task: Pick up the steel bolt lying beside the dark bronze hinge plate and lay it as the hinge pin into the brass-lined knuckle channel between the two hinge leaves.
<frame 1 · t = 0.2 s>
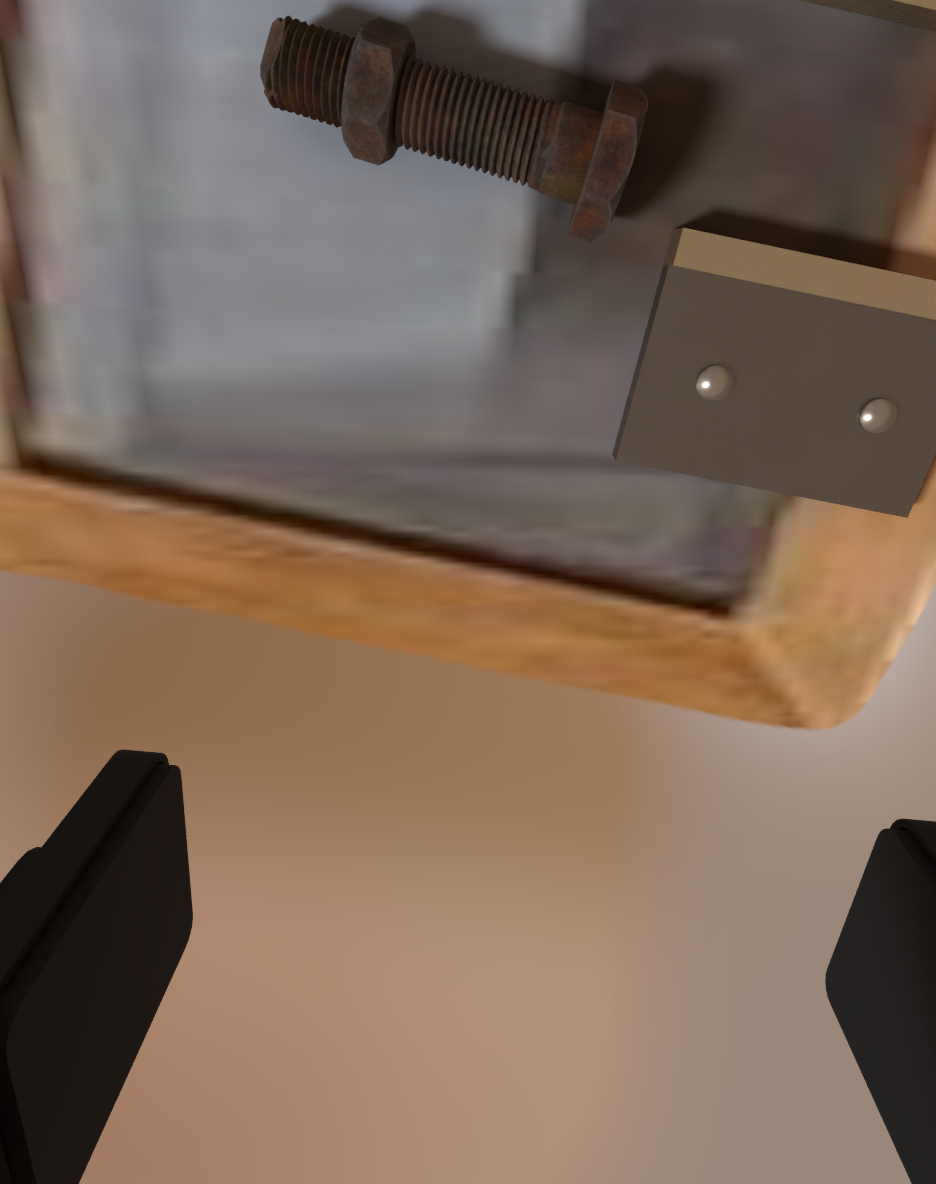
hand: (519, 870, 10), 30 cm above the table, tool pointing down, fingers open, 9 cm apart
hinge plate: (872, 151, 33), on the table
bolt: (454, 122, 33), on the table
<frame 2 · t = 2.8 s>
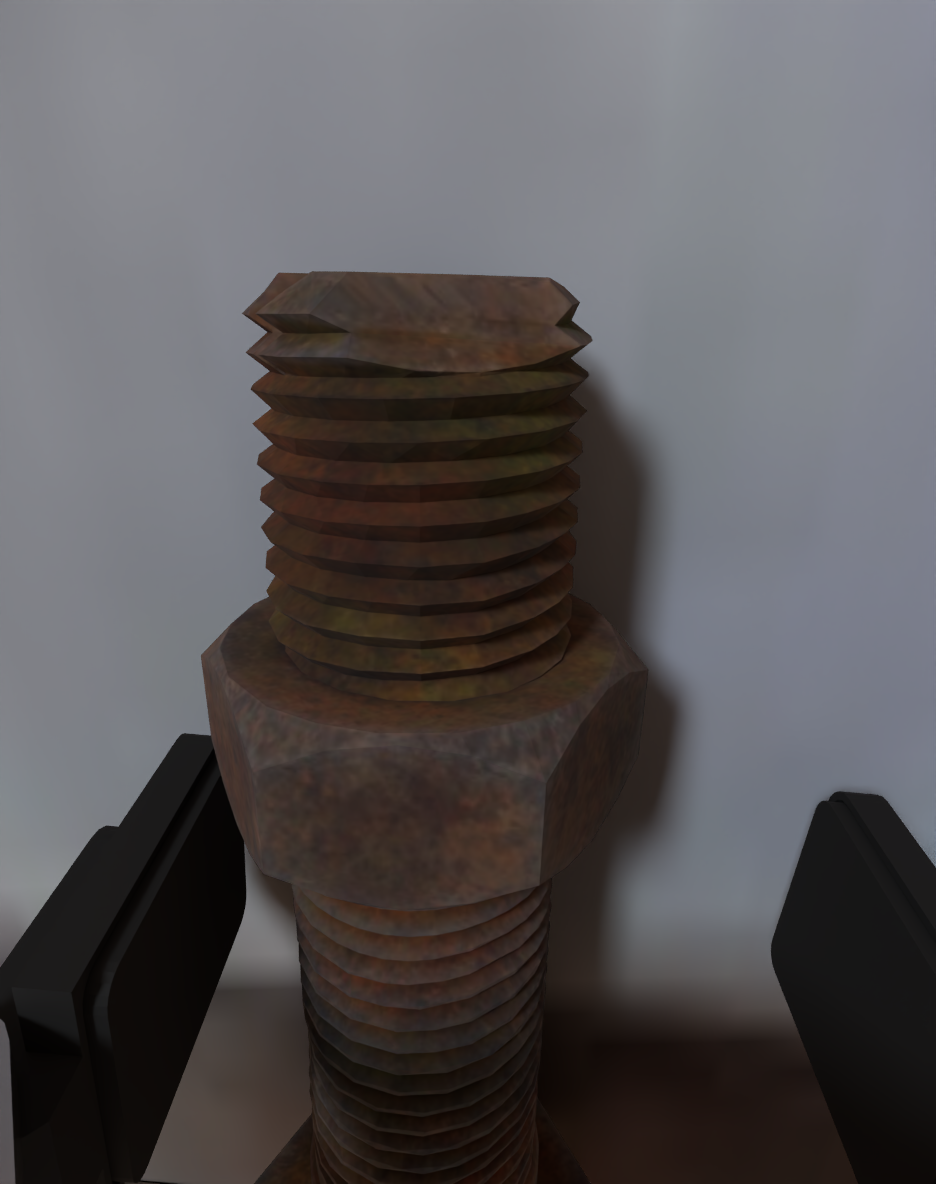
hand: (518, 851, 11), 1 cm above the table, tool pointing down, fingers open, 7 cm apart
bolt: (446, 788, 12), on the table, touching gripper
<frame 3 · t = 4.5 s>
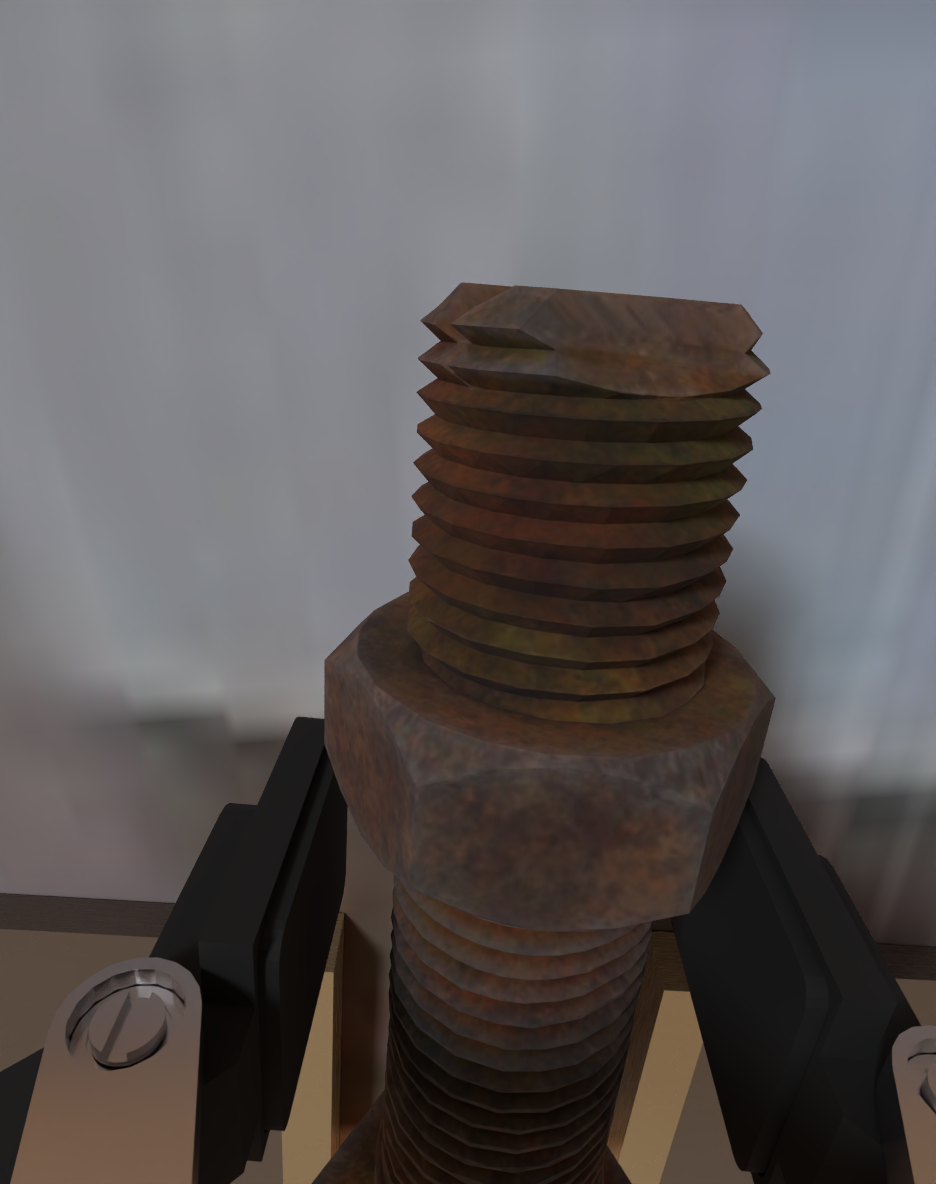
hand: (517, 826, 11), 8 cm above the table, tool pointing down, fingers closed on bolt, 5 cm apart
hinge plate: (475, 1086, 25), on the table
bolt: (522, 800, 12), point 7 cm above the table, touching gripper
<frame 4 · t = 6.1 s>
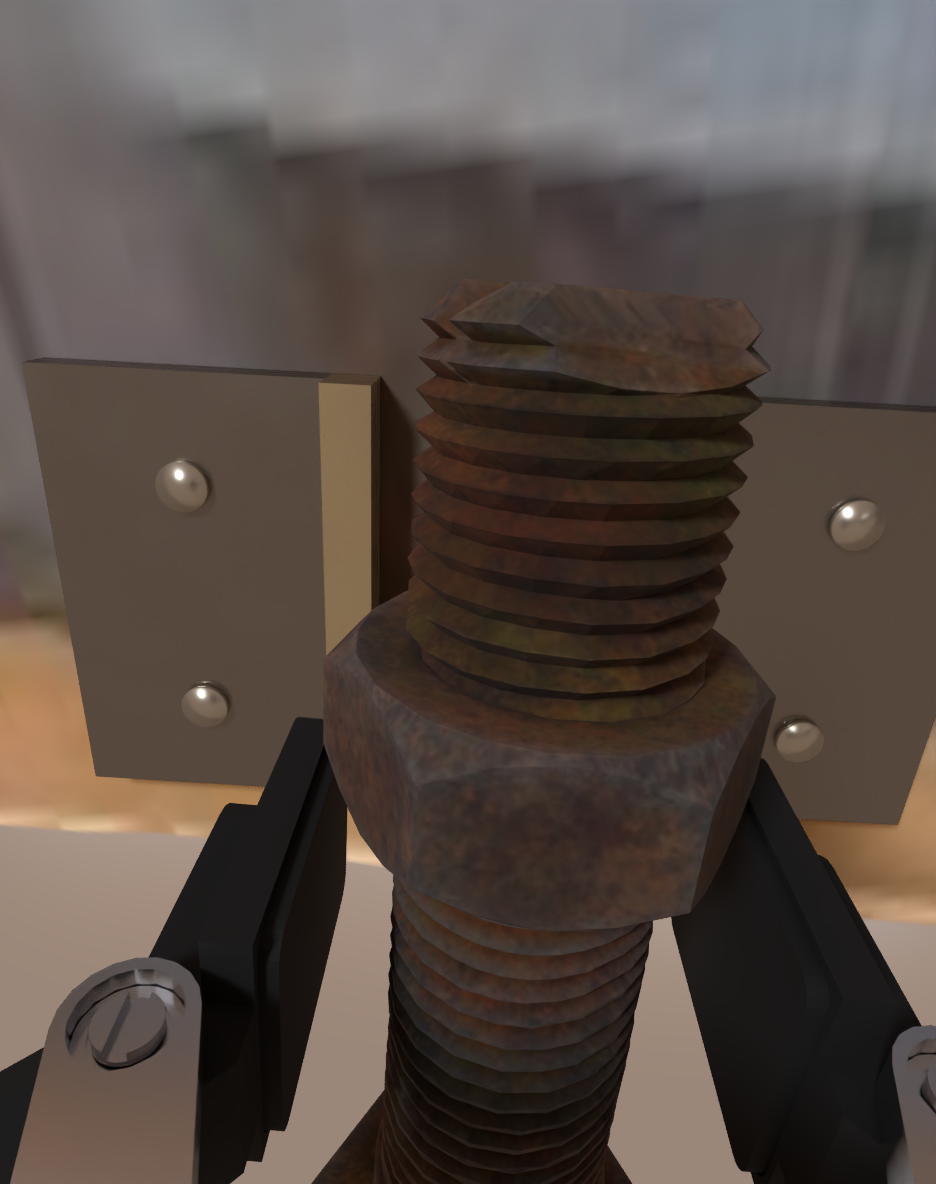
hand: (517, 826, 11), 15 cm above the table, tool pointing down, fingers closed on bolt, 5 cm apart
hinge plate: (508, 604, 26), on the table
bolt: (522, 799, 12), point 14 cm above the table, touching gripper
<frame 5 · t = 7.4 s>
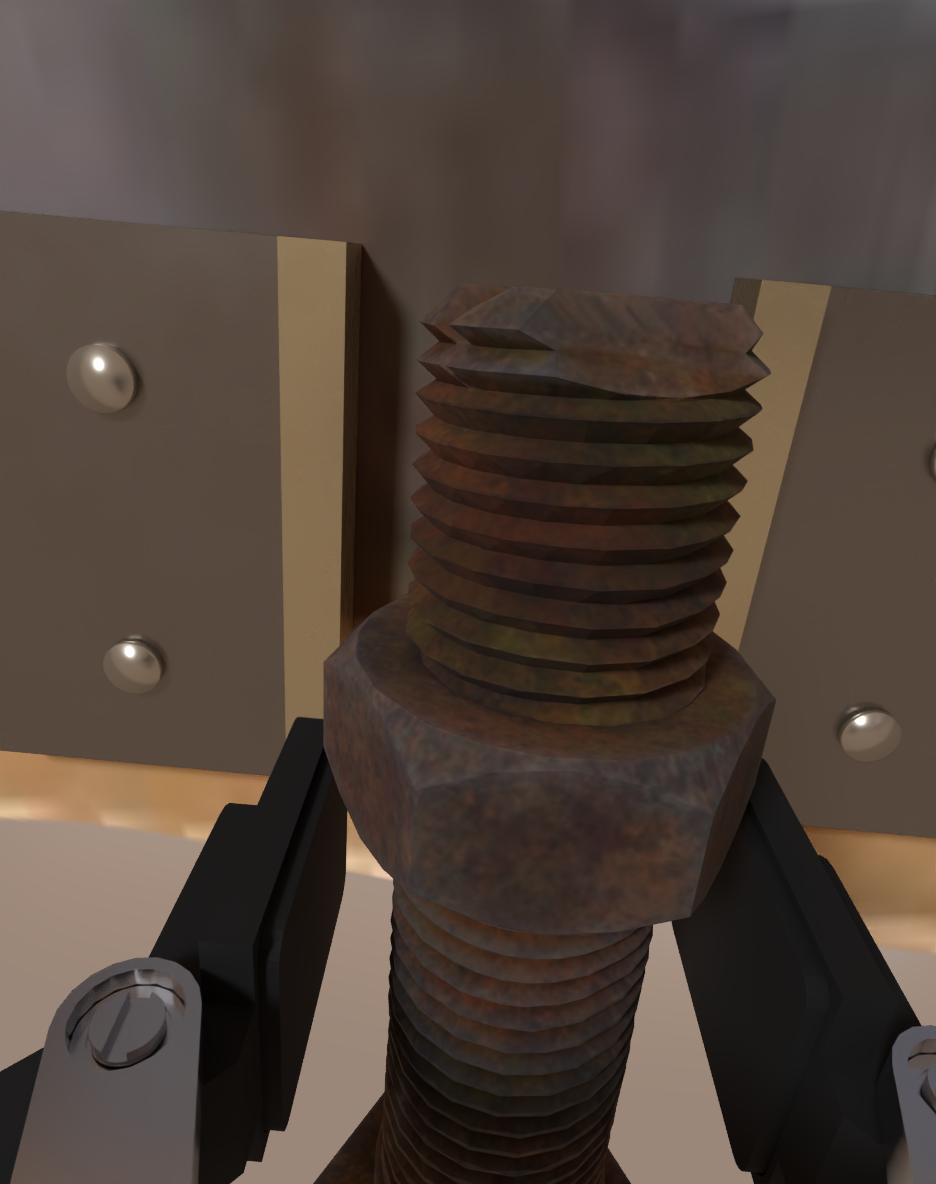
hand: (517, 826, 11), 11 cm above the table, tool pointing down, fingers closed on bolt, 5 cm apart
hinge plate: (515, 552, 21), on the table
bolt: (522, 801, 12), point 10 cm above the table, touching gripper
when the fingers open (3 cm above the table, at t = 9.2 s): bolt drops 2 cm, on the table.
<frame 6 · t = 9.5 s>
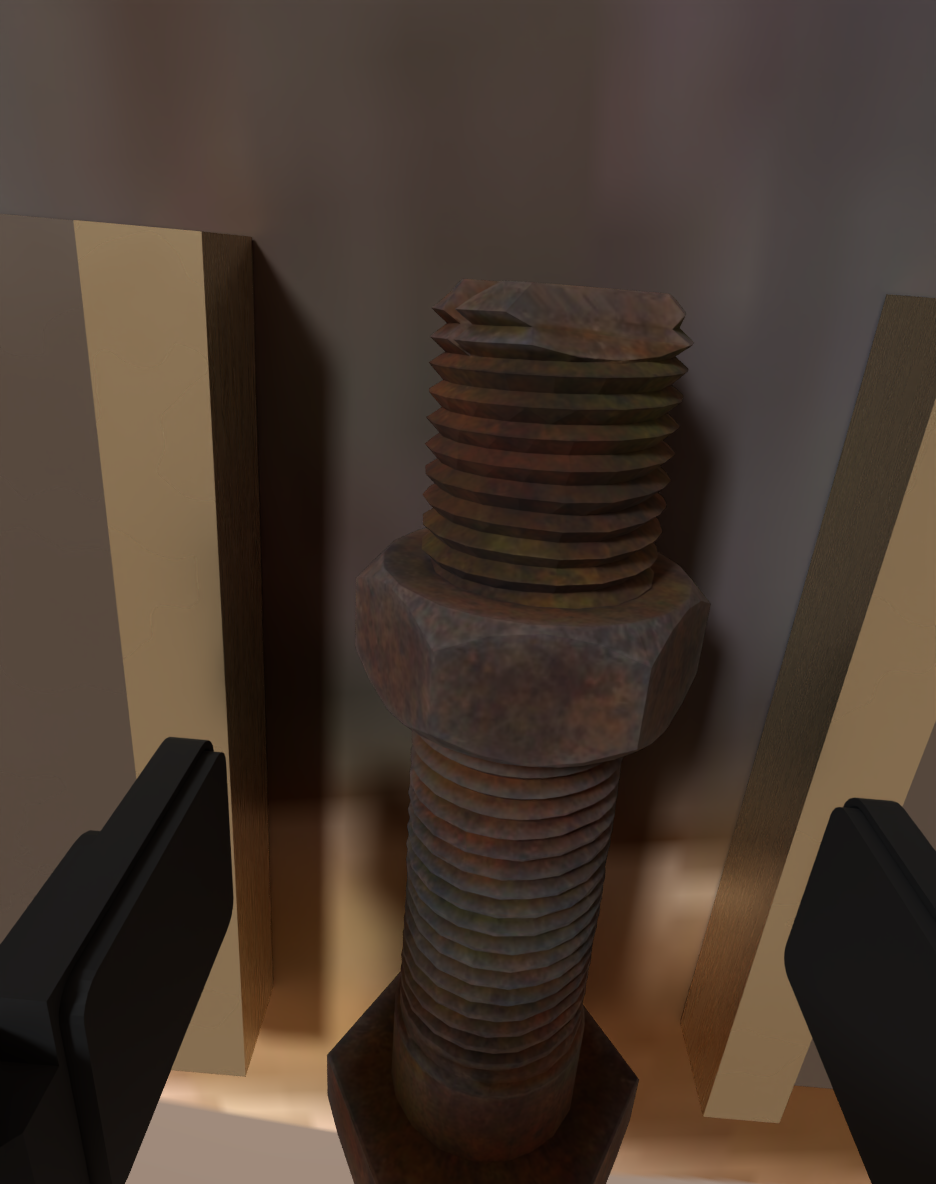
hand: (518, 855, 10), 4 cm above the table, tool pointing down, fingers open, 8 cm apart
hinge plate: (513, 716, 14), on the table
bolt: (514, 714, 14), on the table
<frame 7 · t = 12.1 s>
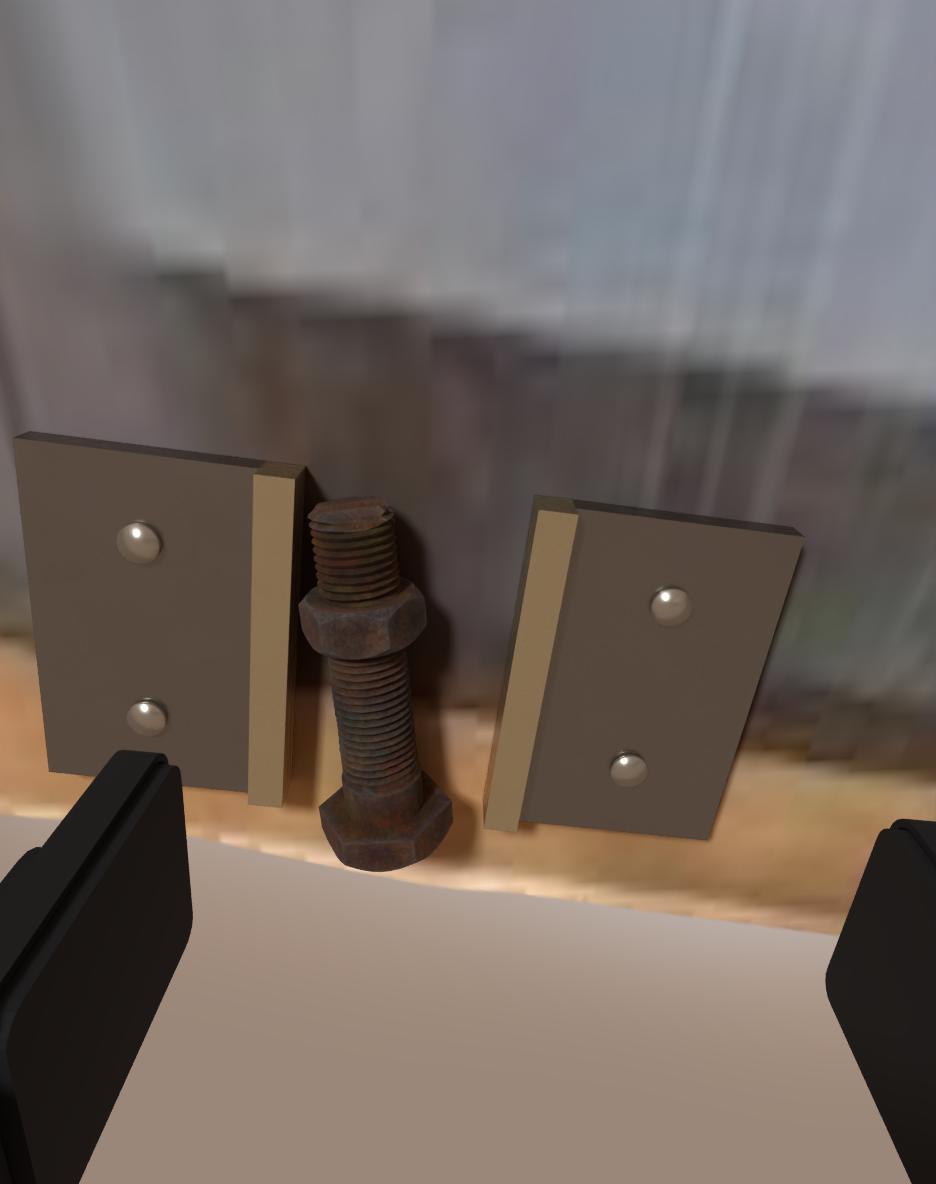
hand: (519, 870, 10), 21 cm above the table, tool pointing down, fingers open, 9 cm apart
hinge plate: (402, 649, 33), on the table
bolt: (380, 653, 33), on the table
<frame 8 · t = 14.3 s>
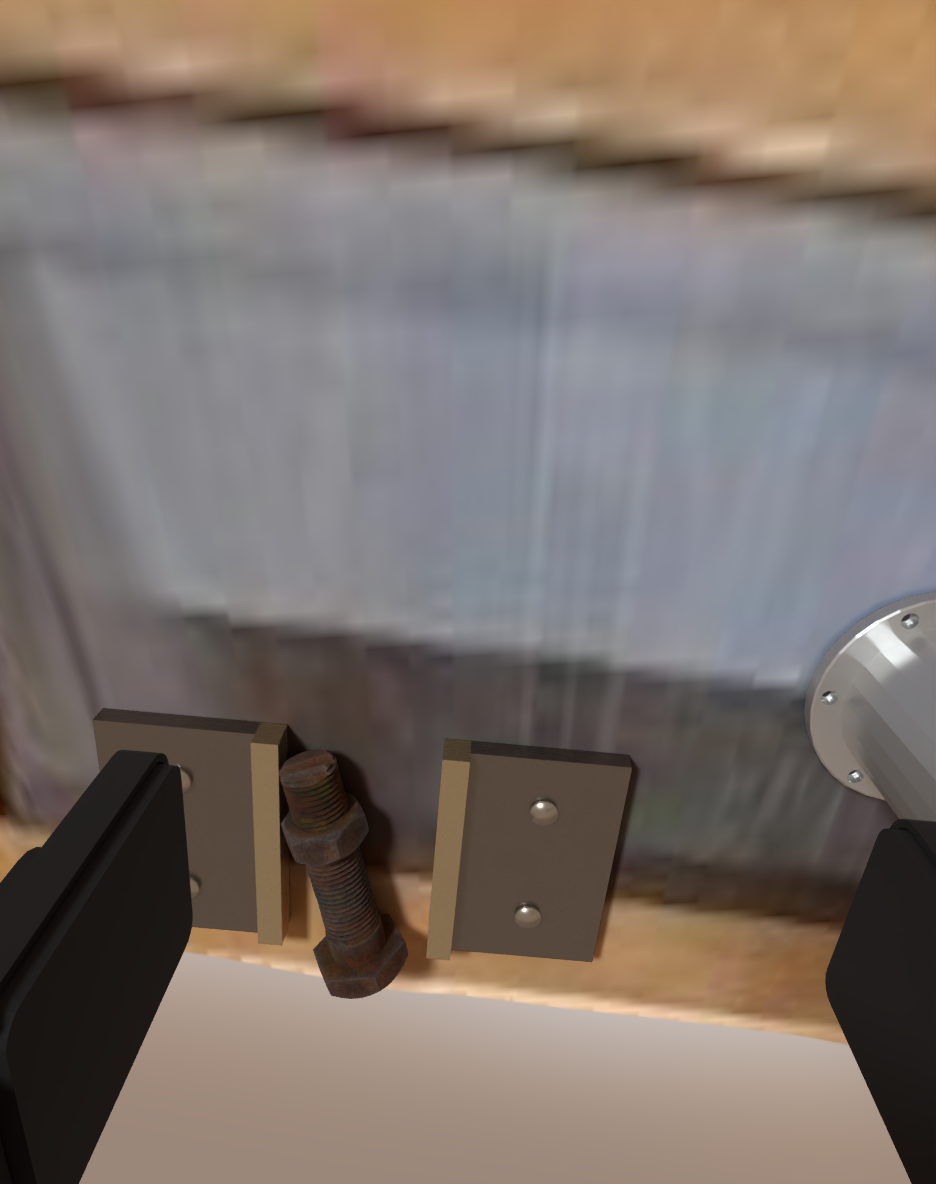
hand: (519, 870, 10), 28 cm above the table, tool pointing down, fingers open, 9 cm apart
hinge plate: (362, 835, 46), on the table
bolt: (346, 838, 47), on the table
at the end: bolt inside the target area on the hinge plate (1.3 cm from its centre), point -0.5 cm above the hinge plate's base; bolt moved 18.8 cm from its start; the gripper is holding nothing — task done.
